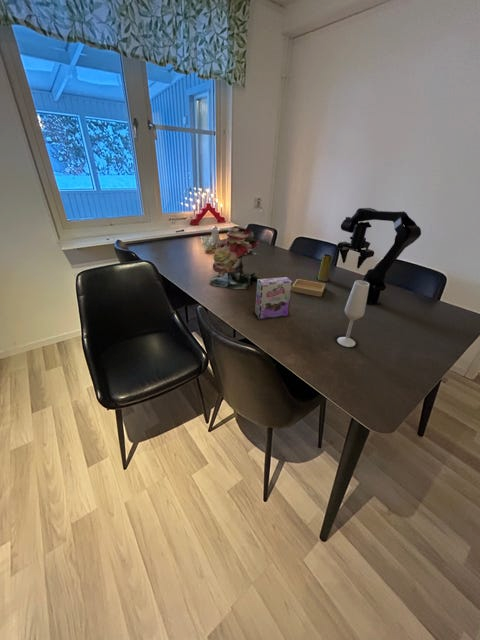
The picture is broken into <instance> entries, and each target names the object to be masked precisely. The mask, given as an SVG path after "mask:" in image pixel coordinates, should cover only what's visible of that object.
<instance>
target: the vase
mask: <svg viewBox="0 0 480 640" xmlns="http://www.w3.org/2000/svg"><path fill="white" fill-rule="evenodd" d="M332 260H333V255H332V254H330V253H323V254H322V257H321V262H320V266H319V267H320V268H319V270H318V271H319V272H318V276H317V280H318V281H321V282H327V281H329V278H330V272H331V265H332Z"/></svg>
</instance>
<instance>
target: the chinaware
mask: <svg viewBox="0 0 480 640" xmlns="http://www.w3.org/2000/svg"><path fill="white" fill-rule="evenodd" d="M210 231H211V236H207V235H206V236H201V237H200V238H199V239H200V240H201V242H202V243H201V244H202V245H203V248H204V249H205V251H206V252H210V251H211V250H212V249H216V248H215V247H217V246H218V244H219V243H220V241H221V240H222V239H221V237H220V228H218V227H217V226H216V225H214V226H213V227H212V228H210Z"/></svg>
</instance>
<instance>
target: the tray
mask: <svg viewBox="0 0 480 640" xmlns="http://www.w3.org/2000/svg"><path fill="white" fill-rule="evenodd" d="M326 284H327V283H323V282H317V281H312V280H305V279H301V278H296V279H295V281H294V282H293V283H292V289H291V292H292V293H293V292H294V293H299V294H304V295H308V296H309V295H310V296H315V297H318V298H319V297H320V298H321V297H322V296H323V294H324V291H325V289H326V286H327V285H326Z"/></svg>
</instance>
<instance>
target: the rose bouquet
mask: <svg viewBox="0 0 480 640" xmlns="http://www.w3.org/2000/svg"><path fill="white" fill-rule="evenodd" d="M227 231H228V232H226V235H227V238H222V239H220V240H221V241H220V243H219V244H218V246H217V247H215V248H214V249H215V252H213V257H212V258H213V261H214V262H213V264H212V270H213V271H214V272H216V273H218V274H217V276H216V277H213V278H210V279H209V282H210V285H212V286H214V287H221V288H229V289H231V290H247V289H248V287H249V285H252V284H253V282H251V279H254V280H257V279H262V278H259V277H258V276H256V275H255V274H256V272H253V273H247V274H245V273H244V266H245V265H246V264H243V260H242V259H243V257H251V256H258V257H259V256H261V254H260V253H258V252H253V251H254V249H255V248H256V247H257V246H259V245H260V240H259V239H254V240H253V238H254V235H255V234H254V232H253V231H251V230H249V229H246V228H244V227H241V225H233V227H230V228H228V230H227ZM220 274H223V275H220Z"/></svg>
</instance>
